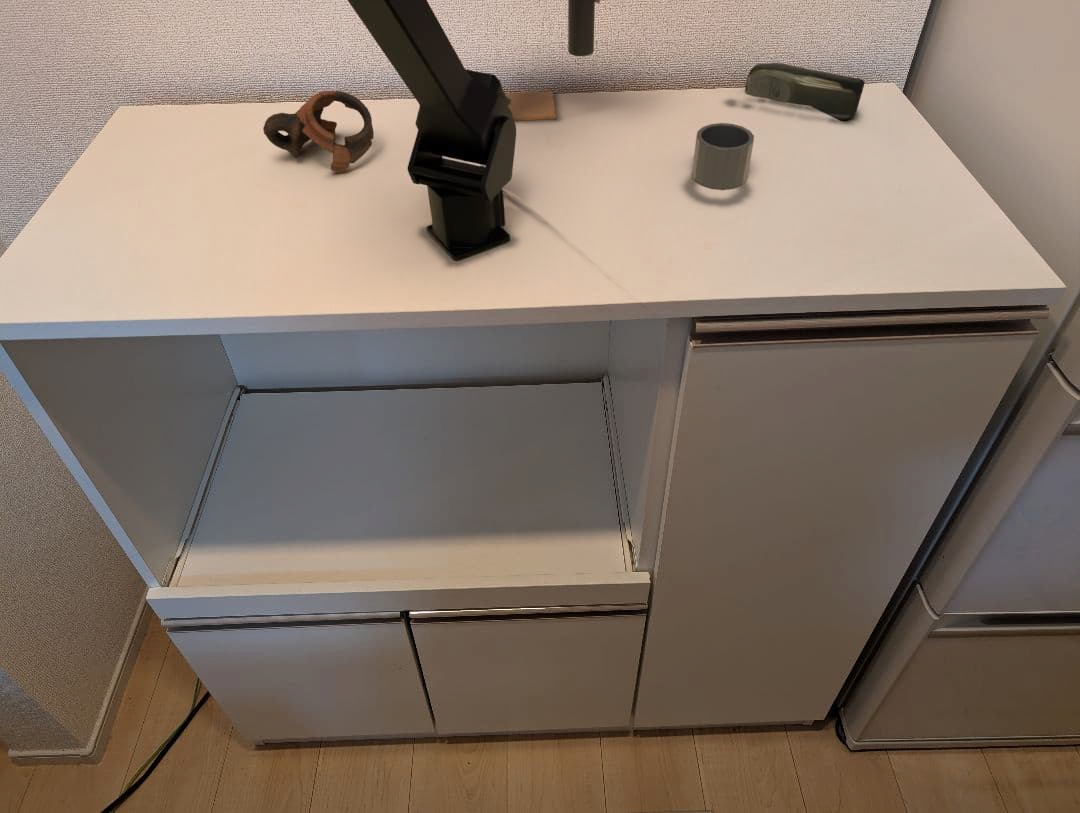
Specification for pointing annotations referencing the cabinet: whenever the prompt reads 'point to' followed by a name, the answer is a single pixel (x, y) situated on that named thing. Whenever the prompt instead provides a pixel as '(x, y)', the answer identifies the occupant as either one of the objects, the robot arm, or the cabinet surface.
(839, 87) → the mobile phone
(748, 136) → the pen pot
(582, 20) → the marker
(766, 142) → the cabinet surface
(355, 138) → the brown curved ring piece
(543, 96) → the cork pad
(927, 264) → the cabinet surface
